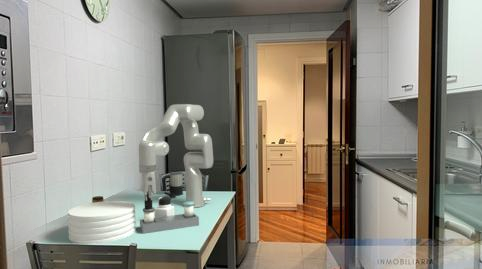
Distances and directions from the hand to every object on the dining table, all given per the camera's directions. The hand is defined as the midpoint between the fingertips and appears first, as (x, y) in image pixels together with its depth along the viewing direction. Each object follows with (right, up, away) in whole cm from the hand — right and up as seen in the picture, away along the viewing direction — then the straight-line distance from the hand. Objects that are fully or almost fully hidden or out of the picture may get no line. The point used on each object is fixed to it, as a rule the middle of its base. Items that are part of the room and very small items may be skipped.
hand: (148, 208), depth 159 cm
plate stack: (-20, -11, -3) cm, 23 cm away
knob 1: (0, -7, +1) cm, 7 cm away
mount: (+9, -10, +5) cm, 14 cm away
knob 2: (+17, -6, +9) cm, 20 cm away
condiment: (-30, -10, +18) cm, 36 cm away
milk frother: (-2, -7, +73) cm, 74 cm away
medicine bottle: (+4, -10, +14) cm, 17 cm away
